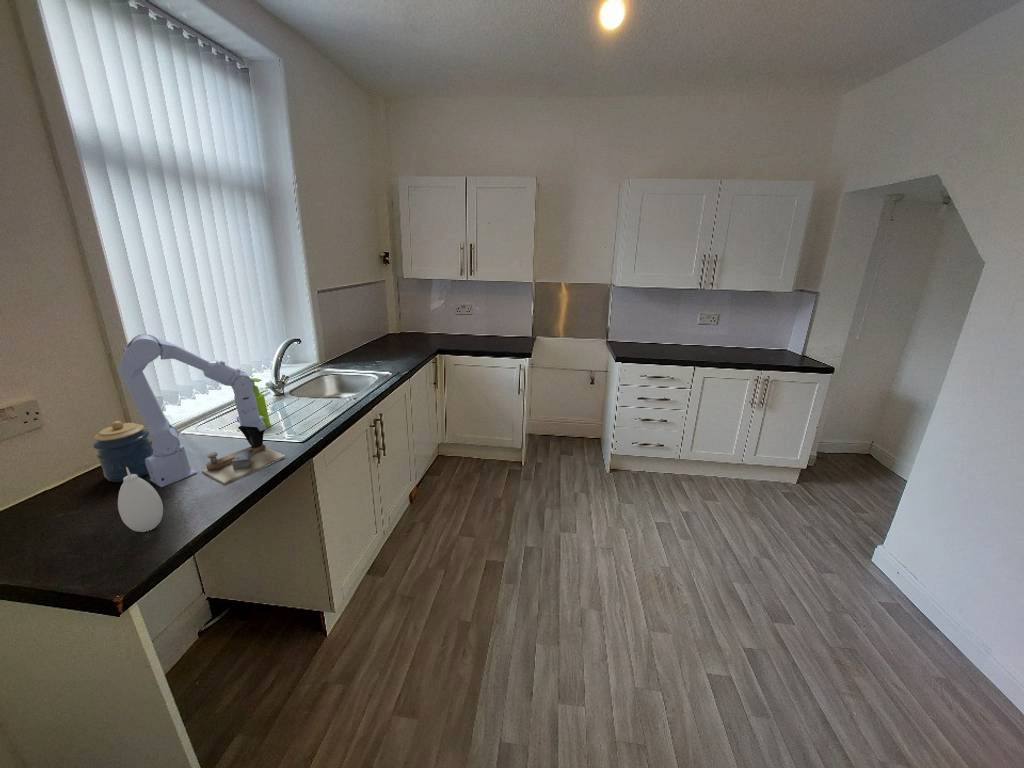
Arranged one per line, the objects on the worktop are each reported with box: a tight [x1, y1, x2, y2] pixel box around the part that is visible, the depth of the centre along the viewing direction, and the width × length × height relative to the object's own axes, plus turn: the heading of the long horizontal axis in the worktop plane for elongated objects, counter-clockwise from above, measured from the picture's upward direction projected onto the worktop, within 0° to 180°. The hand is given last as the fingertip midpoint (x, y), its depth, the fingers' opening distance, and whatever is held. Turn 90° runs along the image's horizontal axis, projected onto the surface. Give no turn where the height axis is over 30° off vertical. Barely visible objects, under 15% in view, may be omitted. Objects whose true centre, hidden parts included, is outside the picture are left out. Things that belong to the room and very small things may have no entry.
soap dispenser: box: [250, 377, 271, 429], centre depth 157 cm, size 6×7×20 cm
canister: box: [92, 420, 154, 483], centre depth 126 cm, size 13×13×18 cm
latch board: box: [201, 446, 287, 485], centre depth 132 cm, size 19×14×1 cm
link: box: [205, 436, 266, 470], centre depth 133 cm, size 17×4×5 cm, turn 149°
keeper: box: [231, 450, 254, 470], centre depth 130 cm, size 6×4×4 cm
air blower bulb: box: [117, 467, 164, 533], centre depth 99 cm, size 8×8×18 cm
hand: (256, 444), depth 139 cm, fingers open, 3 cm apart
